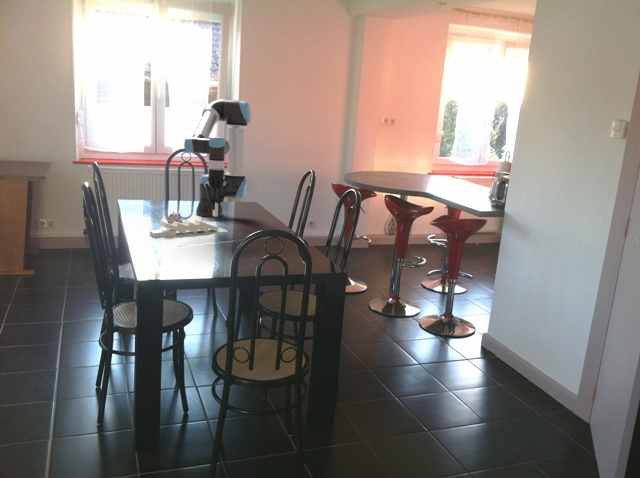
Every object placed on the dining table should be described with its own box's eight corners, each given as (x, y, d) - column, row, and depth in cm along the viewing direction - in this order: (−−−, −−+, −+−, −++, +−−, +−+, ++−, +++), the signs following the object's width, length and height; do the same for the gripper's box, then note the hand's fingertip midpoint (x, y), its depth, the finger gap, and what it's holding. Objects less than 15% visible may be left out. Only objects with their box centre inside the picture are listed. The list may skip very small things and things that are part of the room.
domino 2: (182, 227, 287) (162, 221, 280) (186, 230, 283) (166, 223, 276) (180, 231, 287) (160, 225, 280) (185, 233, 283) (164, 227, 276)
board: (220, 229, 303) (220, 227, 302) (229, 233, 296) (229, 231, 296) (164, 234, 285) (164, 232, 284) (172, 238, 278) (172, 236, 277)
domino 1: (171, 228, 284) (149, 230, 277) (176, 230, 280) (153, 233, 274) (171, 232, 284) (149, 235, 278) (176, 235, 281) (154, 237, 274)
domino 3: (193, 227, 291) (173, 220, 284) (197, 229, 287) (178, 222, 280) (191, 231, 291) (172, 224, 284) (196, 233, 287) (176, 226, 280)
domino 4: (204, 226, 294) (185, 220, 287) (208, 228, 290) (189, 222, 283) (202, 230, 294) (183, 224, 287) (207, 232, 290) (188, 226, 283)
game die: (172, 236, 298) (163, 222, 291) (169, 226, 304) (160, 213, 298) (188, 227, 299) (180, 213, 293) (184, 218, 306) (176, 204, 299)
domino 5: (214, 225, 298) (195, 219, 291) (218, 227, 294) (200, 221, 287) (212, 229, 298) (194, 223, 291) (217, 231, 294) (198, 225, 287)
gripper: (224, 167, 295) (223, 213, 301) (200, 168, 288) (199, 215, 293) (232, 169, 290) (230, 216, 295) (207, 170, 282) (206, 218, 287)
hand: (215, 216), depth 294 cm, fingers closed
